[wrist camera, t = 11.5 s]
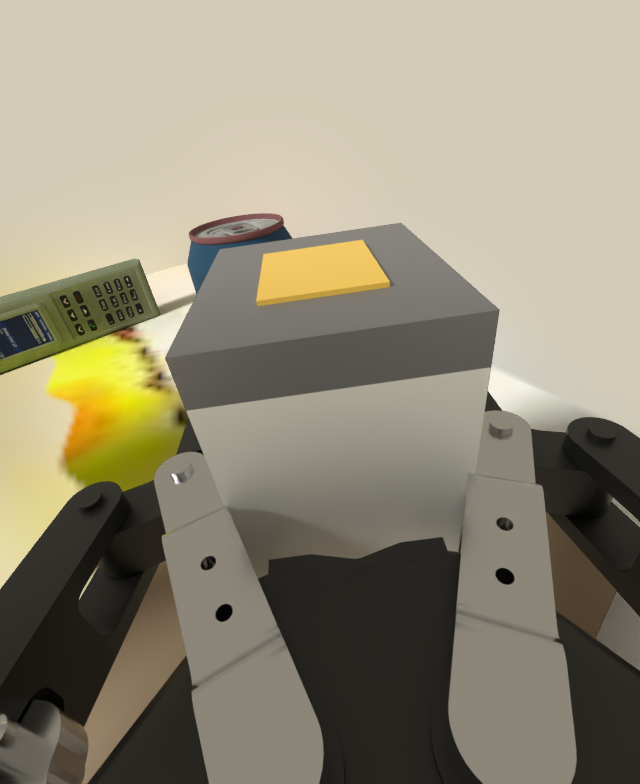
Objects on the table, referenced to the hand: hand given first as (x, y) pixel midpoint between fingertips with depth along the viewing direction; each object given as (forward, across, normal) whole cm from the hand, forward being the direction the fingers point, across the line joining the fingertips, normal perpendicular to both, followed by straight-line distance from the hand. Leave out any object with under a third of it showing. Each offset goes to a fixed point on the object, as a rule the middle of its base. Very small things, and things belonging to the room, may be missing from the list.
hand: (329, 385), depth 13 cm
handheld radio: (+27, +29, +10) cm, 41 cm away
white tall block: (-3, 0, +7) cm, 8 cm away
